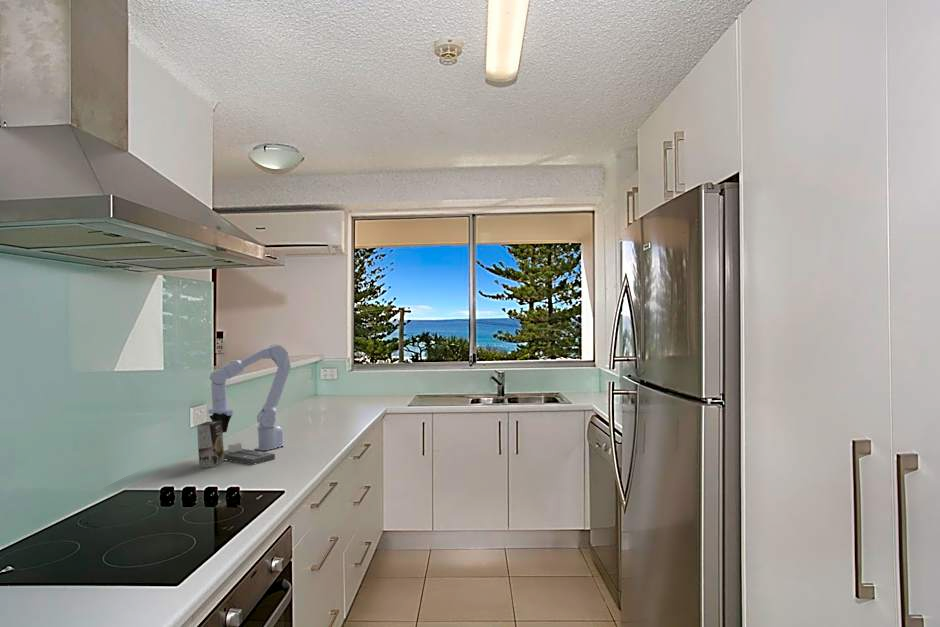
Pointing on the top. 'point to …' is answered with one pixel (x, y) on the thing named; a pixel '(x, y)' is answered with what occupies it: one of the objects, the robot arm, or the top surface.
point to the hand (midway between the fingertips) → (221, 432)
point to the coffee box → (210, 444)
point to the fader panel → (248, 456)
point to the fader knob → (234, 447)
